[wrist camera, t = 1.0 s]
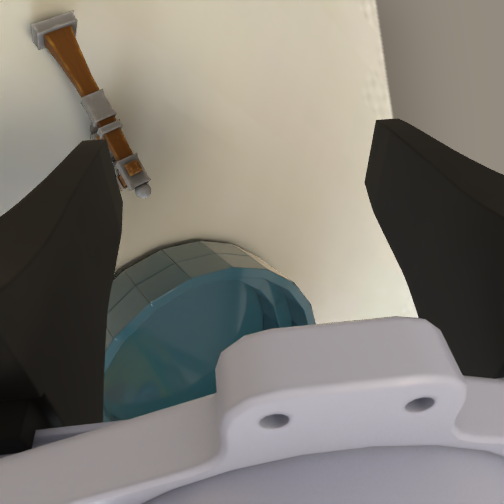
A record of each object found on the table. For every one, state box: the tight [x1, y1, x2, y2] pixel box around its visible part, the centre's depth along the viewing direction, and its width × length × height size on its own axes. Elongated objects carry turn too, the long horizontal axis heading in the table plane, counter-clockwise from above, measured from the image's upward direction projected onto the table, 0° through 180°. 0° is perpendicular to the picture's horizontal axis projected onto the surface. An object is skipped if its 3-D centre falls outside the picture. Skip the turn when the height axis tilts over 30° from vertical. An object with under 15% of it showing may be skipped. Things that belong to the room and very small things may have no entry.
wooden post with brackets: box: [31, 10, 151, 198], centre depth 22 cm, size 2×8×4 cm, turn 17°
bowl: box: [103, 241, 316, 422], centre depth 29 cm, size 15×15×4 cm
